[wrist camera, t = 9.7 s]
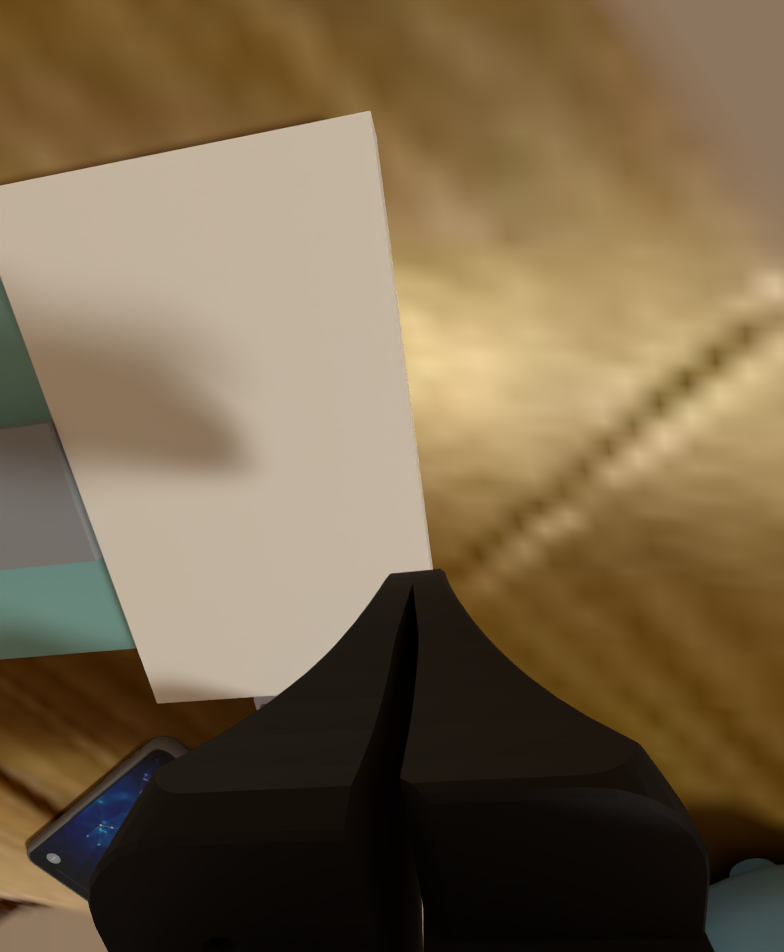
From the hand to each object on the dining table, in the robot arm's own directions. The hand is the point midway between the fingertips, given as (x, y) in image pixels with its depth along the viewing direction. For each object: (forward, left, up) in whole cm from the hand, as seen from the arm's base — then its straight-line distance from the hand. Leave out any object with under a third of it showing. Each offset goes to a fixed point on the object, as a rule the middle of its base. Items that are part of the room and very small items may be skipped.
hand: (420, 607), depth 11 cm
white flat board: (+2, +7, -9) cm, 12 cm away
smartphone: (-20, +20, -10) cm, 30 cm away
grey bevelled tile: (+2, +19, -9) cm, 21 cm away
